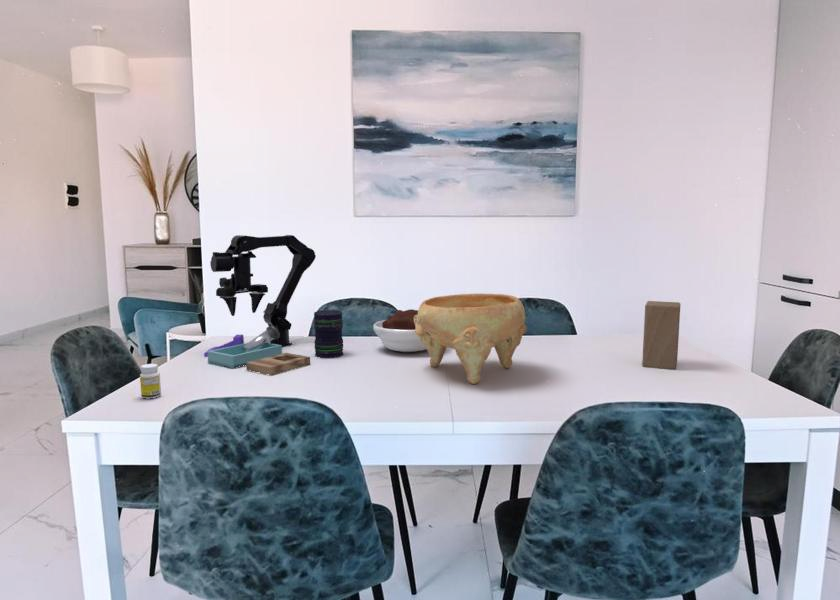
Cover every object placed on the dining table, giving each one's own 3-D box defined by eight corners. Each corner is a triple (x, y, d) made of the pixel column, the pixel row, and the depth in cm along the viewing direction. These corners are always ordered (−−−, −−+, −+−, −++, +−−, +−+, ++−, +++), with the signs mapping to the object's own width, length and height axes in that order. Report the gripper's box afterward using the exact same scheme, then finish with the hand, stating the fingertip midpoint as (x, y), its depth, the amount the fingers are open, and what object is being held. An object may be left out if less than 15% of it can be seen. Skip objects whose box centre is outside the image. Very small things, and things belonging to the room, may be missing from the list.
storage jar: (309, 356, 196) (307, 313, 194) (324, 351, 205) (323, 309, 203) (334, 359, 192) (333, 315, 190) (348, 353, 201) (347, 311, 199)
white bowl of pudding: (361, 354, 199) (361, 311, 197) (390, 341, 222) (389, 302, 220) (429, 360, 190) (429, 315, 188) (451, 345, 214) (451, 305, 212)
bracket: (244, 352, 204) (243, 333, 203) (240, 356, 197) (239, 337, 196) (209, 353, 203) (208, 334, 202) (204, 357, 196) (203, 338, 195)
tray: (256, 352, 203) (256, 341, 203) (282, 356, 196) (281, 345, 195) (208, 363, 187) (207, 351, 186) (233, 368, 179) (233, 356, 179)
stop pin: (249, 360, 193) (276, 340, 203) (254, 353, 190) (281, 334, 199) (239, 348, 193) (266, 329, 203) (244, 342, 190) (272, 322, 199)
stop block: (286, 360, 191) (286, 352, 191) (310, 364, 185) (310, 356, 184) (246, 370, 177) (246, 362, 177) (270, 375, 171) (270, 367, 171)
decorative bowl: (462, 353, 200) (463, 288, 197) (548, 371, 176) (550, 297, 173) (389, 370, 177) (389, 297, 174) (476, 394, 152) (477, 308, 149)
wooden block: (677, 363, 186) (680, 302, 183) (676, 370, 177) (680, 306, 174) (644, 360, 190) (647, 300, 187) (642, 367, 181) (645, 304, 178)
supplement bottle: (145, 394, 153) (143, 363, 152) (163, 393, 153) (162, 363, 152) (138, 399, 148) (136, 367, 147) (157, 399, 148) (155, 367, 147)
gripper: (248, 268, 215) (249, 309, 217) (205, 271, 200) (207, 315, 202) (268, 269, 209) (269, 312, 211) (225, 272, 194) (227, 318, 196)
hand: (243, 314), depth 205 cm, fingers open, 9 cm apart
